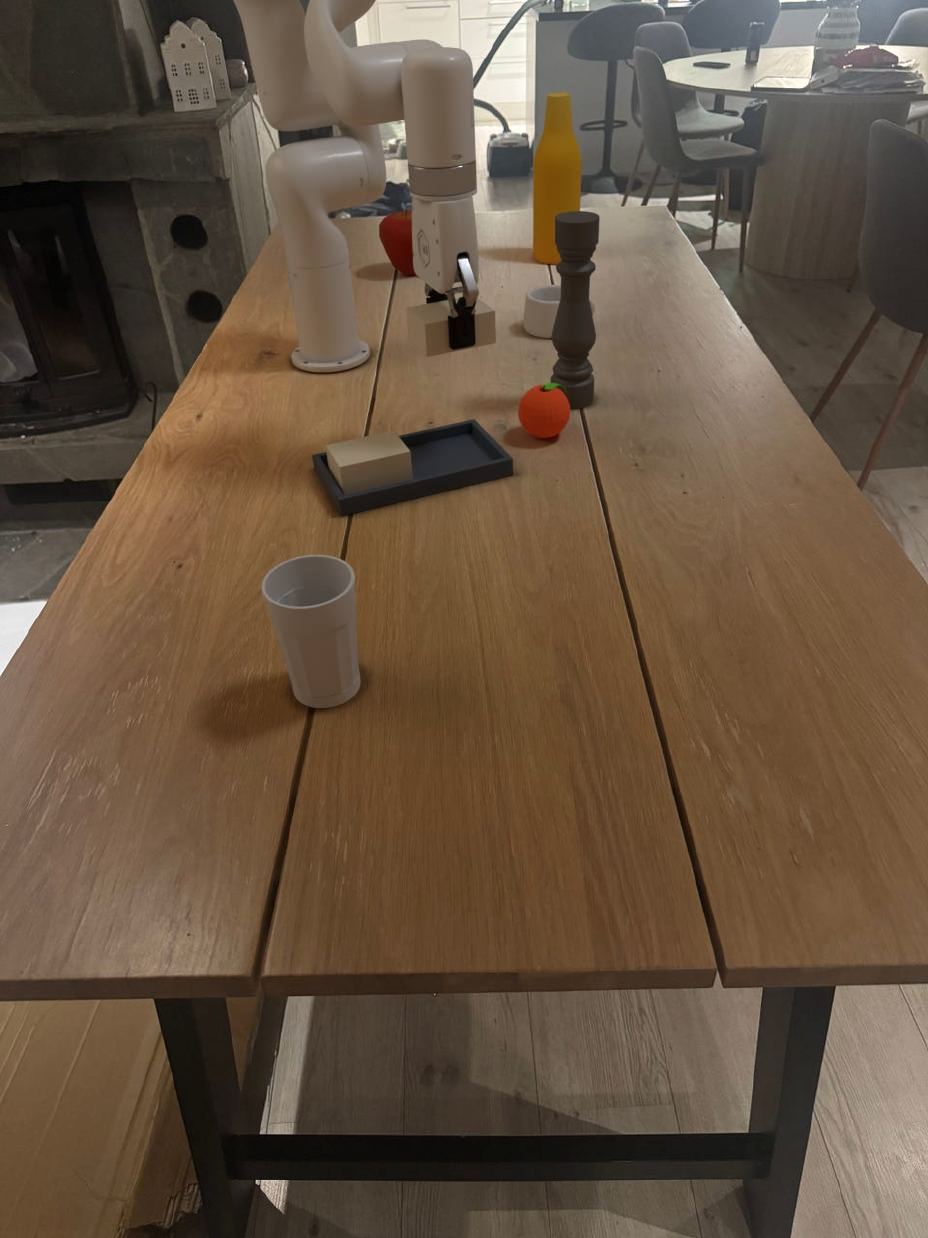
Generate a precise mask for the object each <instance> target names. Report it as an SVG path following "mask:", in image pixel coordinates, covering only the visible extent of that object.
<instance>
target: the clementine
mask: <svg viewBox="0 0 928 1238" xmlns="http://www.w3.org/2000/svg"><path fill="white" fill-rule="evenodd" d="M559 385H560V384H557V383H551V382H548V383H544V384H538V385H535V386H533V387H531V388H530V389H528V390H527V391H526V392H525V393H524V395H523V396H522V397H521V399H520V401H519V404H518V409H517V414H518V421H519V422H520V424H521V427H522V428H523V429H524V431H526V432H527V434H529V435H531V436H533V437H535V438H539V439H549V438H553V437H554V436H556V435H558V434H559V433H562V431H563V430H564V429H565V428H566V426H567V424H568V422H569V420H570V416H571V409H570V404H569V402H568V400H567V397H566V396H565V394H564V393H563V392H562V391H561V390H559V389H558V388H556V386H559ZM561 386H562V385H561ZM562 387H563V388H564V390H565V392H566V388H565V387H564V386H562ZM566 394H567V392H566Z"/></svg>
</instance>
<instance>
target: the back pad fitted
mask: <svg viewBox="0 0 928 1238" xmlns="http://www.w3.org/2000/svg"><path fill="white" fill-rule="evenodd" d="M399 436H400V435H398V434H397V433H396V432H395V430H388V431H385V432H379V433H375V434H370V435H366V436H361V437H357V438H352V439H347V440H343V441H339V442H334V443H329V444H325V452H327V459H328V465H329V472H330V474H331V476H332V478H333V479H334V481H335V483H336V484H337V486H338V487H339V489H340V491H341V492H342V494H343V496H344V495H348V494H352V493H356V492H361V491H365V490H369V489H373V488H378V487H382V486H386V485H390V484H395V483H399V482H403V481H407V480H412V479H413V475H412V464H411V452H410V450H409V449H408V448H407V446H406V445H405V444H404V443H403V441H402V440H401V439H400V438H399Z"/></svg>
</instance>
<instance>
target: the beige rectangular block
mask: <svg viewBox="0 0 928 1238" xmlns="http://www.w3.org/2000/svg"><path fill="white" fill-rule="evenodd" d="M459 298H460V297H457V298H455V299H456V304H457V302H458V300H459ZM476 301H477V302H476V305H475V309H476V313H475V338H476V344H475V345H474V346H471V347H466V348H461V349H456V350H452V349H451V348H450V347H449V331H448V316H450V315H451V313H450V308H449V303H448V300H446V301H440V302H435V303H429V304H426V303H425V304H418V305H413V306H408V307H405V309H406V322H407V331H408V332H407V333H408V340H409V341H410V342H411V343H412V344H413V345H414V346H415V347H416V348H417V349H418V350H419V351H420V352H421V353H422V354H423V355H424V356H425V357H427V358H430V357H434V356H439V355H444V354H449V353H454V352H459V351H464V350H469V349H473V348H478V347H484V346H488V345H494V344H497V334H496V333H497V332H496V330H497V329H496V327H497V326H496V310H495V309H494V308H492V307H491V306H490V305H488V304H487V303H485V302H484V301H483V300H481V299H480V298H479V297H477V299H476Z"/></svg>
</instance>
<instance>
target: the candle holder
mask: <svg viewBox="0 0 928 1238" xmlns="http://www.w3.org/2000/svg"><path fill="white" fill-rule="evenodd" d="M599 239H600V214H598V213H596V212H593V211H587V210H586V211H585V210H580V211H570V212H564V213H561V214H558V215H557V216H555V245H557V251H558V253H559V254H560V258H561V261H560V262H559V263H558V264H555V270H556V272H557V274H559V277H560V285H561V298H560V302H559V306H558V310H557V314H556V318H555V322H554V326H553V330H552V338H551V341H552V346H553V348H554V349H555V351H556V352H557V353H556V355H557V358H558V359H557V360H556V362H555V363H554V365H552V373H553V374H552V375H551V376H550V383H557V384H560V385H559V386H556V388H558V389H559V390H561V391H562V392H563V393H564V394H565V396H566V397H567V400H568V402H569V404H570V410H579V409H584V408H587V407H589V406H591V405H593V404H592V403H594V400H595V399H594V397H595V395H594V394H595V375H594V374H593V372H594V367H593V365H592V363H591V362H590V359H588V357H589V356H590V351H591V350H592V349H593V347H594V345H595V343H596V340H597V332H596V327H595V322H594V315H593V316H592V311H591V305H590V300H589V298H590V289H591V288H590V287H591V277H592V274H593V273H594V272H595V271H596V269H597V268H596V267H597V266H596V263H595V262H594V261H592V258H593V256H594V253H595V252H596V250H597V245H598V244H599V243H600V242H599ZM561 385H562V386H564V387H565V388H566V392H567V394H566V392H565V390H564V388H563V387H562V386H561Z"/></svg>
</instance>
